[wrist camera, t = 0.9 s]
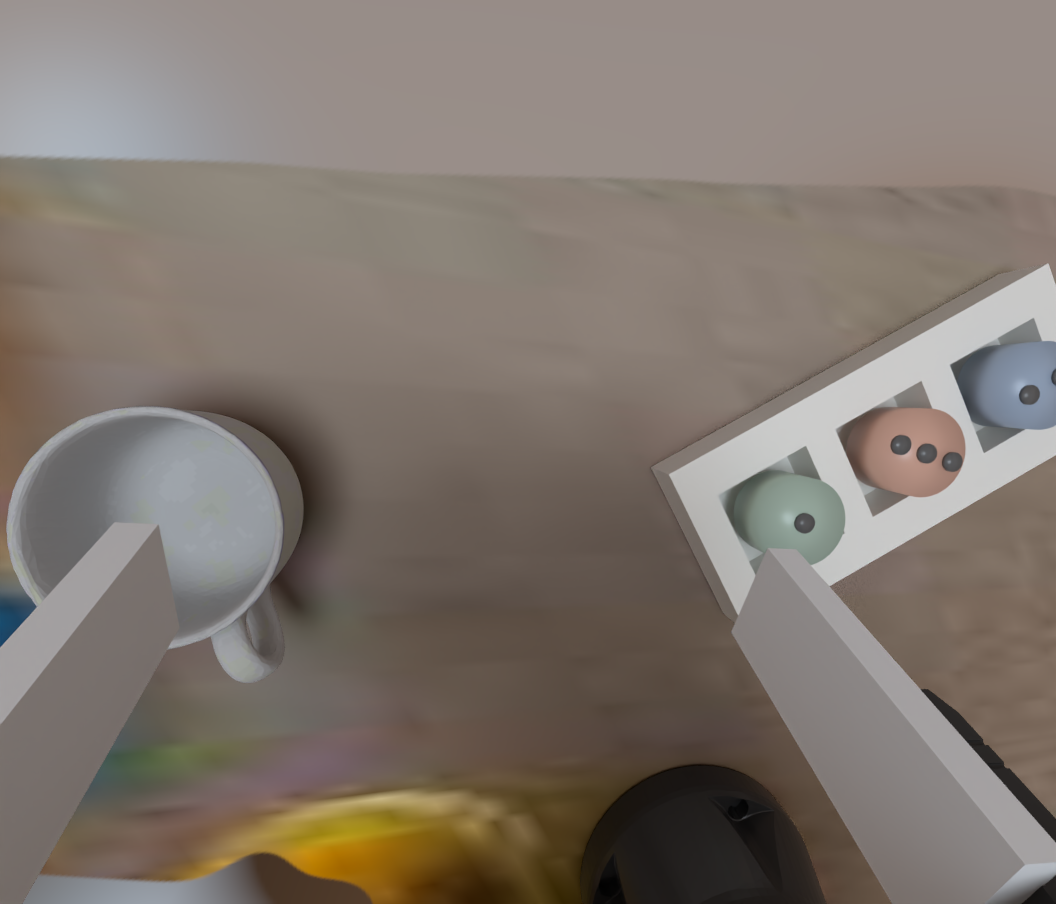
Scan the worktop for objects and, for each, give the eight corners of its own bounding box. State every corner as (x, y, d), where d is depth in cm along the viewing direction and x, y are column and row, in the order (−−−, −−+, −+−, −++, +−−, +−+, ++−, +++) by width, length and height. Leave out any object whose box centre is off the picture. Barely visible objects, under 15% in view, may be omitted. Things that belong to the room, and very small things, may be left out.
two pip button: (1038, 402, 34) (1097, 403, 31) (972, 440, 34) (1025, 445, 31) (1012, 330, 34) (1070, 324, 30) (945, 368, 33) (995, 366, 30)
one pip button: (823, 525, 33) (861, 540, 30) (753, 565, 33) (784, 584, 30) (791, 455, 33) (827, 462, 30) (720, 495, 32) (748, 506, 29)
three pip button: (932, 463, 34) (981, 471, 31) (864, 502, 34) (906, 514, 30) (903, 392, 33) (950, 392, 30) (834, 431, 33) (873, 435, 30)
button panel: (1052, 423, 37) (1104, 426, 34) (723, 613, 35) (747, 633, 33) (998, 274, 35) (1048, 263, 32) (650, 467, 34) (668, 474, 31)
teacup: (91, 435, 30) (-43, 451, 22) (286, 378, 31) (226, 374, 23) (185, 663, 32) (94, 753, 24) (367, 603, 33) (337, 671, 25)
